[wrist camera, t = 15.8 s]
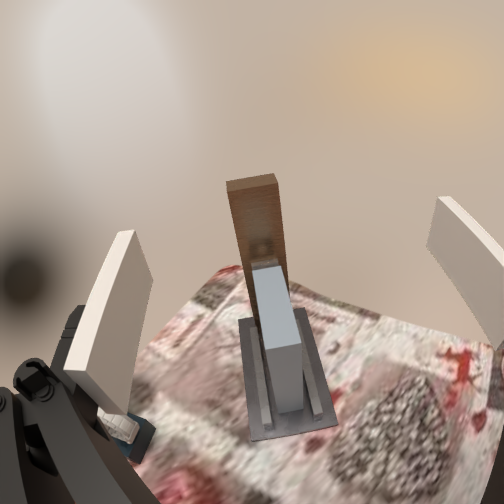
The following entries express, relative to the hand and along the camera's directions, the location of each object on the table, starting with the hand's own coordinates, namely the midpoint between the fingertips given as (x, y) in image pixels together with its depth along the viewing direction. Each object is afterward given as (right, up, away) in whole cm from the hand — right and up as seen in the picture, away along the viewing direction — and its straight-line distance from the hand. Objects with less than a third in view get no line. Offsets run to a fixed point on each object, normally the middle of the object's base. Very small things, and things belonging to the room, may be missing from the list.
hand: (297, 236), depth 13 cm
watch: (-17, -24, +19) cm, 35 cm away
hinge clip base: (+2, -16, +26) cm, 30 cm away
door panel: (+2, -16, +24) cm, 29 cm away
